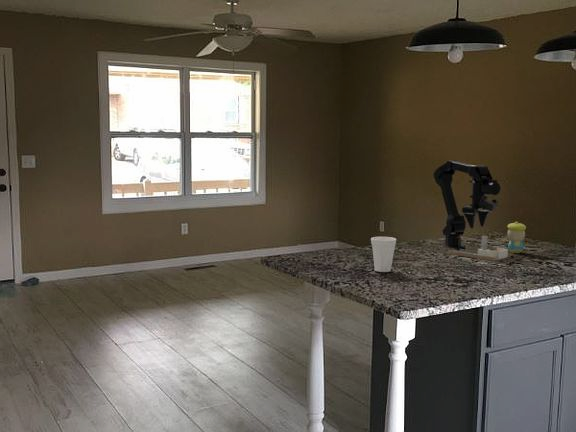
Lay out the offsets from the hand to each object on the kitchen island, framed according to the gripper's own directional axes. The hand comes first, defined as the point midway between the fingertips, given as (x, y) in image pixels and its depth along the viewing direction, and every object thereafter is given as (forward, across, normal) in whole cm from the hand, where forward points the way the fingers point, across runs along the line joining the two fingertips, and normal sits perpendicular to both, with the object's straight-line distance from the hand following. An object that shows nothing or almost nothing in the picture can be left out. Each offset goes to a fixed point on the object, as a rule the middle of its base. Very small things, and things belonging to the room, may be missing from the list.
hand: (477, 227), depth 285 cm
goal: (+11, -6, -14) cm, 19 cm away
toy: (+12, +12, -13) cm, 21 cm away
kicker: (+11, -6, -7) cm, 15 cm away
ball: (+10, -6, -13) cm, 17 cm away
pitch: (+12, -6, -5) cm, 14 cm away
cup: (+12, -62, +6) cm, 63 cm away
